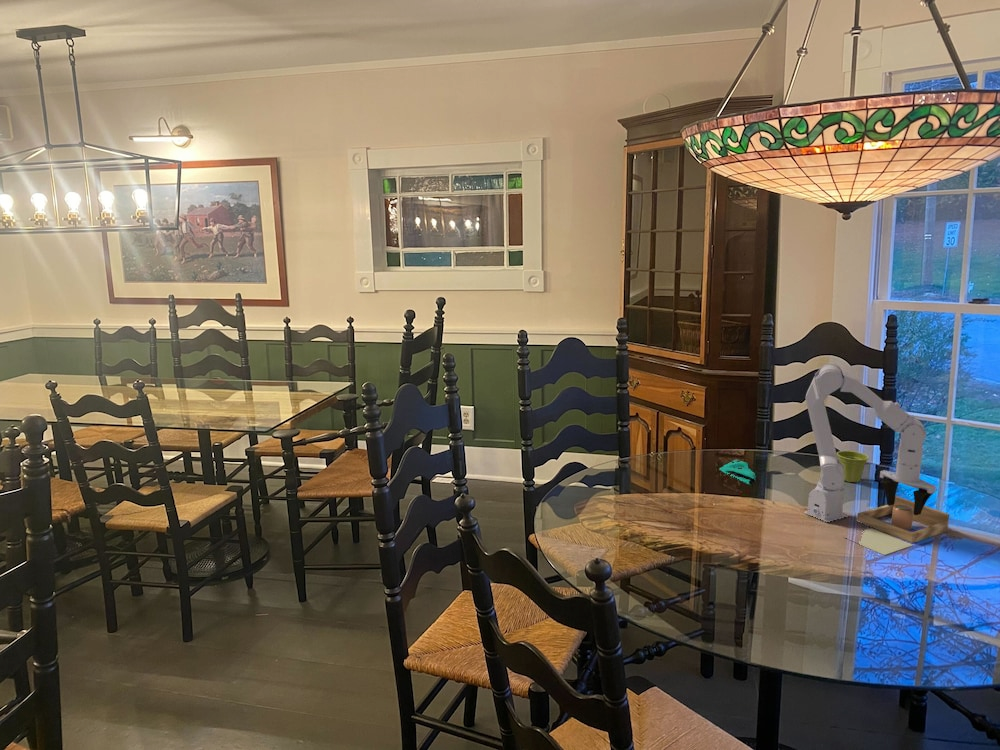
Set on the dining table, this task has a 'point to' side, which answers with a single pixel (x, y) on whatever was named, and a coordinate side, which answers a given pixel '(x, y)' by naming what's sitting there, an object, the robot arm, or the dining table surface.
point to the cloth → (739, 470)
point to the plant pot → (852, 464)
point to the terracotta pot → (902, 516)
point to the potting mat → (882, 542)
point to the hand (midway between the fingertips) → (903, 509)
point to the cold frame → (928, 517)
